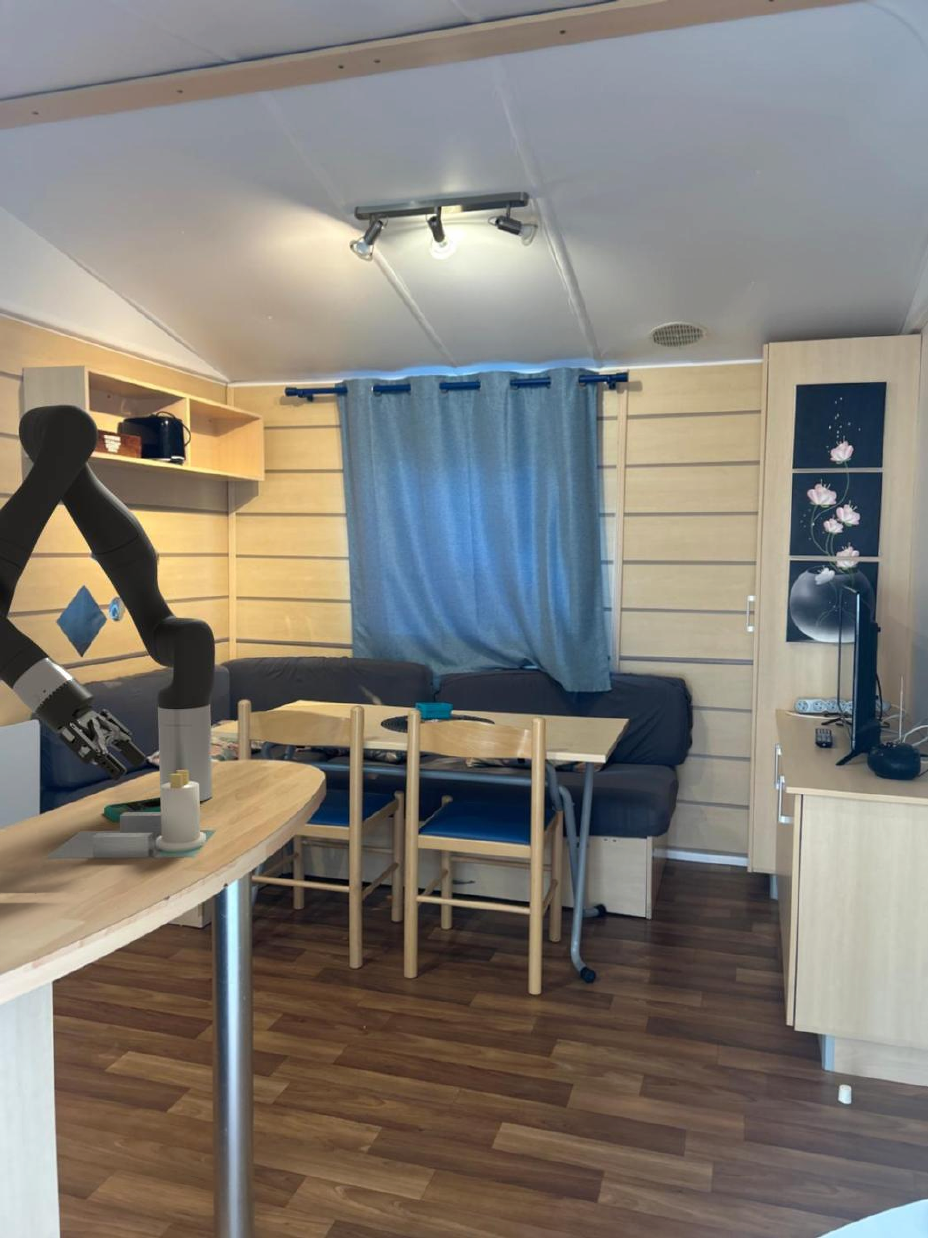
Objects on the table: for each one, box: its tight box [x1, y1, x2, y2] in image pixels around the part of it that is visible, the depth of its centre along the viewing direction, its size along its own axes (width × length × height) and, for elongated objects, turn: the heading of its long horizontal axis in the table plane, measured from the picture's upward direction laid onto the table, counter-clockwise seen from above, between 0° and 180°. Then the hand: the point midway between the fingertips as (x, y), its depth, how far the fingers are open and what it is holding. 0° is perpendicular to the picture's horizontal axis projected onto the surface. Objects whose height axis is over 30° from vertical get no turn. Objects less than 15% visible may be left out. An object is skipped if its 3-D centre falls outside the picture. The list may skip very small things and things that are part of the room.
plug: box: [156, 770, 207, 852], centre depth 139 cm, size 7×7×11 cm
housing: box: [44, 812, 217, 859], centre depth 140 cm, size 13×22×4 cm, turn 91°
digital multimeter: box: [103, 796, 161, 823], centre depth 158 cm, size 7×15×3 cm, turn 127°
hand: (132, 769), depth 139 cm, fingers open, 8 cm apart
